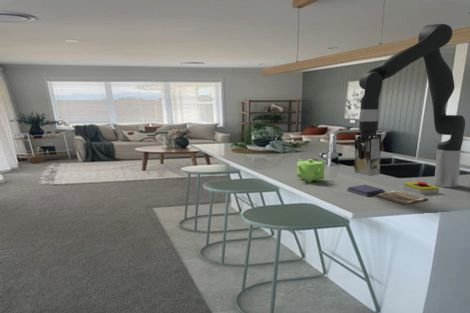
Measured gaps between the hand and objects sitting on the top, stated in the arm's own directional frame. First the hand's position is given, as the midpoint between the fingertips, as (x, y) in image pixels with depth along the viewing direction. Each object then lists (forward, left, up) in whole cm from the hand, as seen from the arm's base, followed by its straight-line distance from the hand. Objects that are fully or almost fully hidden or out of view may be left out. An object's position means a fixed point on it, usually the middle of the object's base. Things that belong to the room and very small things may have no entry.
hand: (367, 158), depth 137 cm
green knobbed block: (+6, -30, -16) cm, 35 cm away
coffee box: (0, 0, -7) cm, 7 cm away
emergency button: (-23, +10, -16) cm, 29 cm away
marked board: (-5, +14, -15) cm, 21 cm away
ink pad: (0, 0, -15) cm, 15 cm away
